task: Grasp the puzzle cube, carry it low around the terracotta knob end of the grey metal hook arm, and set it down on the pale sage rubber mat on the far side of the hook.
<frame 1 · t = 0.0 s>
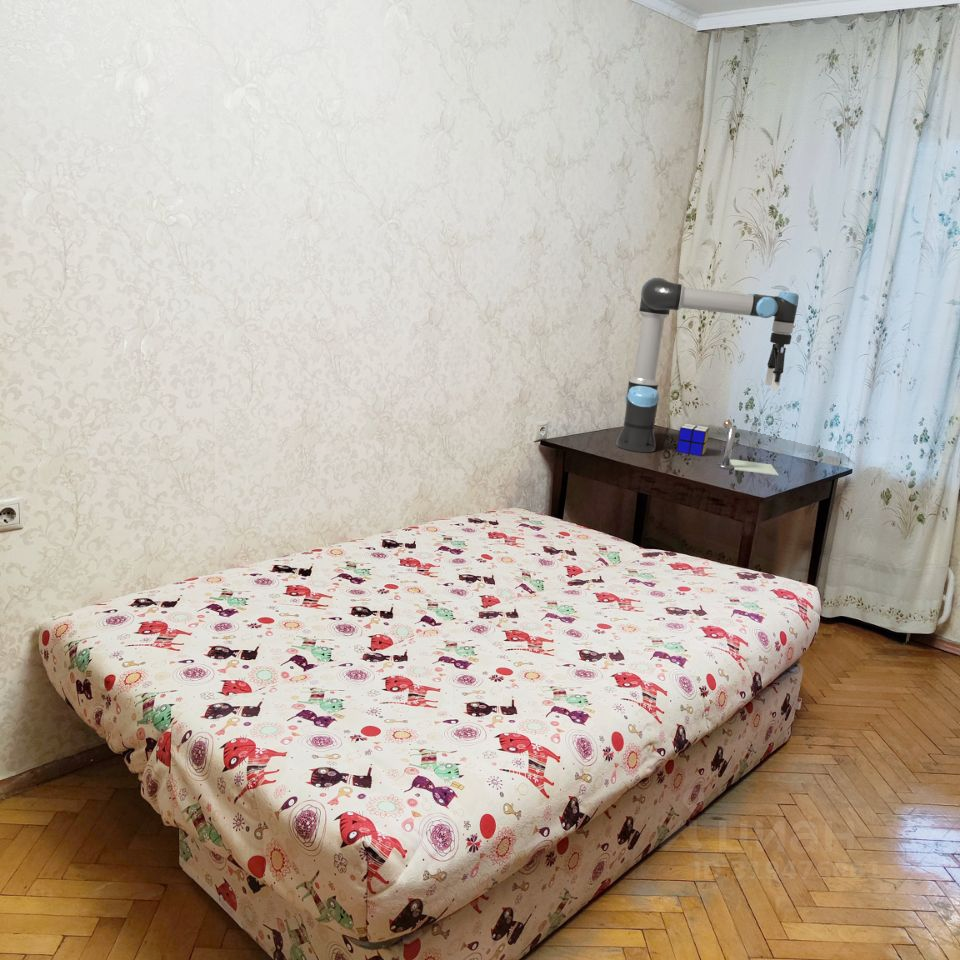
hand: (771, 387, 349), 28 cm above the table, fingers open, 13 cm apart
sage mat: (753, 467, 336), on the table
puzzle cube: (690, 452, 352), on the table
hook post: (725, 467, 332), on the table
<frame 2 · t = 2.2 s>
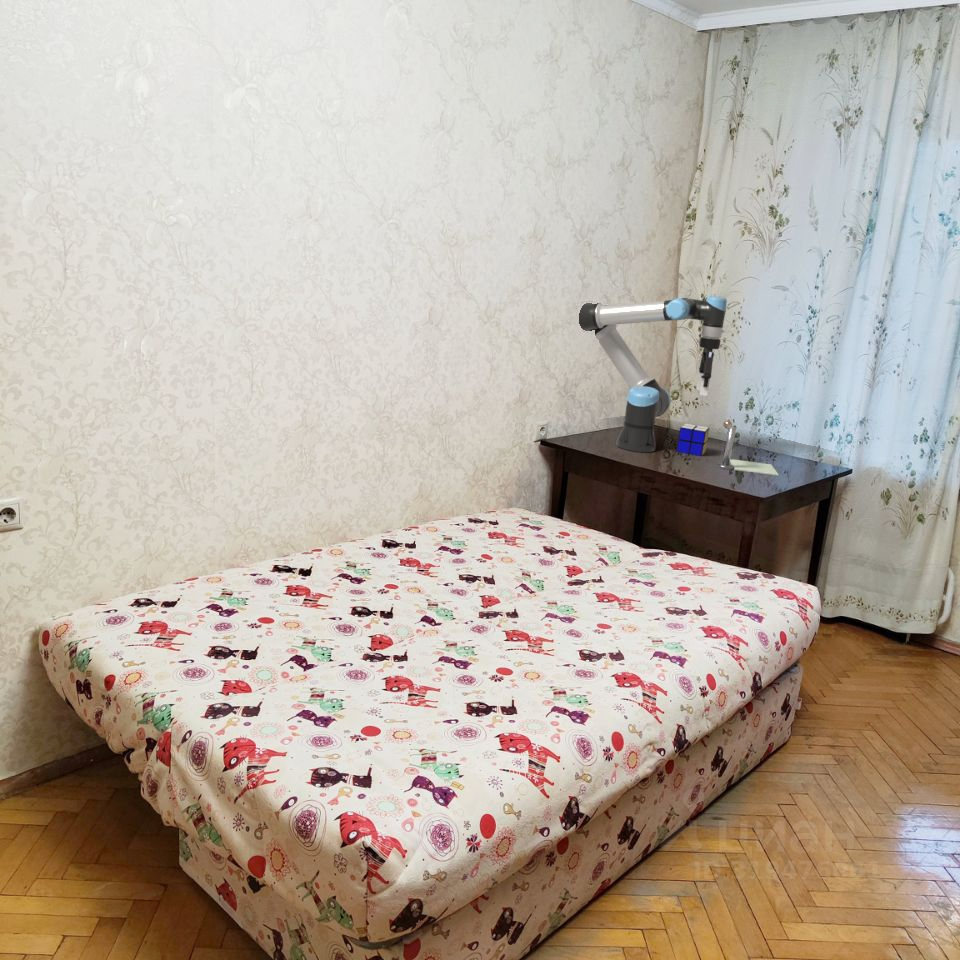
hand: (701, 392, 346), 24 cm above the table, fingers open, 13 cm apart
nothing on the table moved.
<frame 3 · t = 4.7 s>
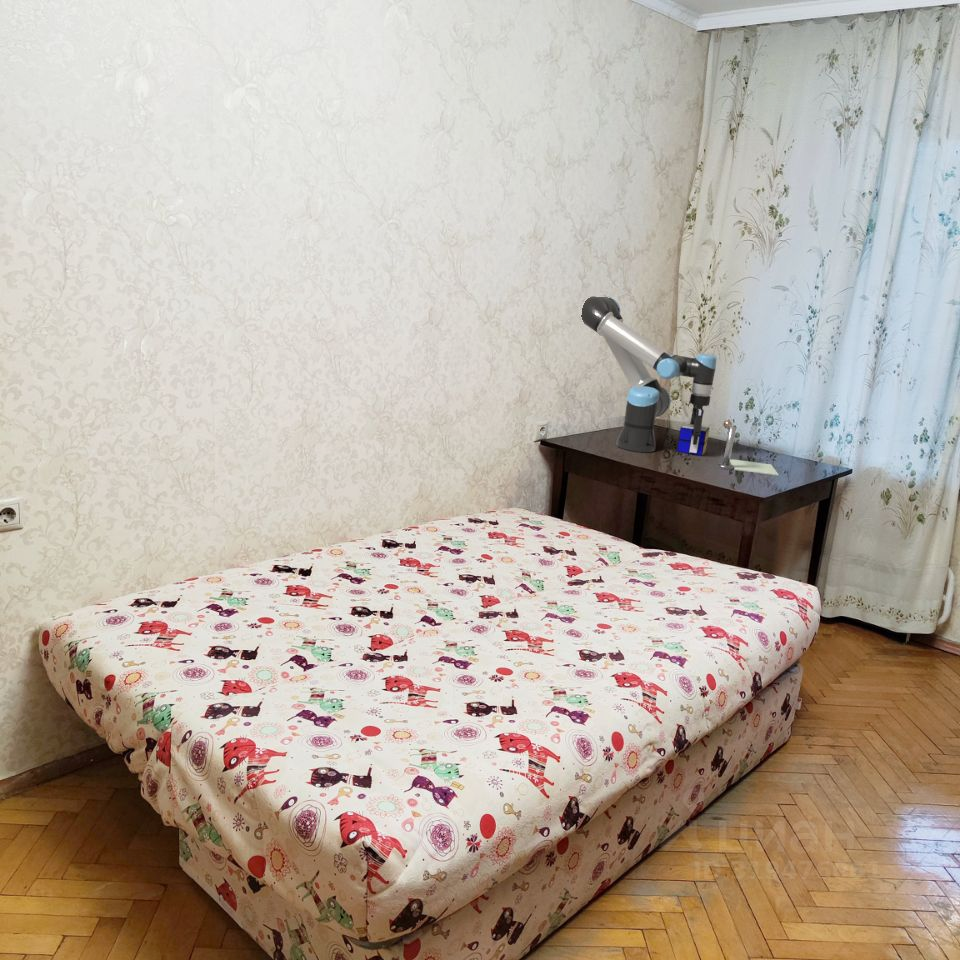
hand: (691, 449, 352), 1 cm above the table, fingers closed on puzzle cube, 11 cm apart
puzzle cube: (691, 452, 352), on the table, touching gripper
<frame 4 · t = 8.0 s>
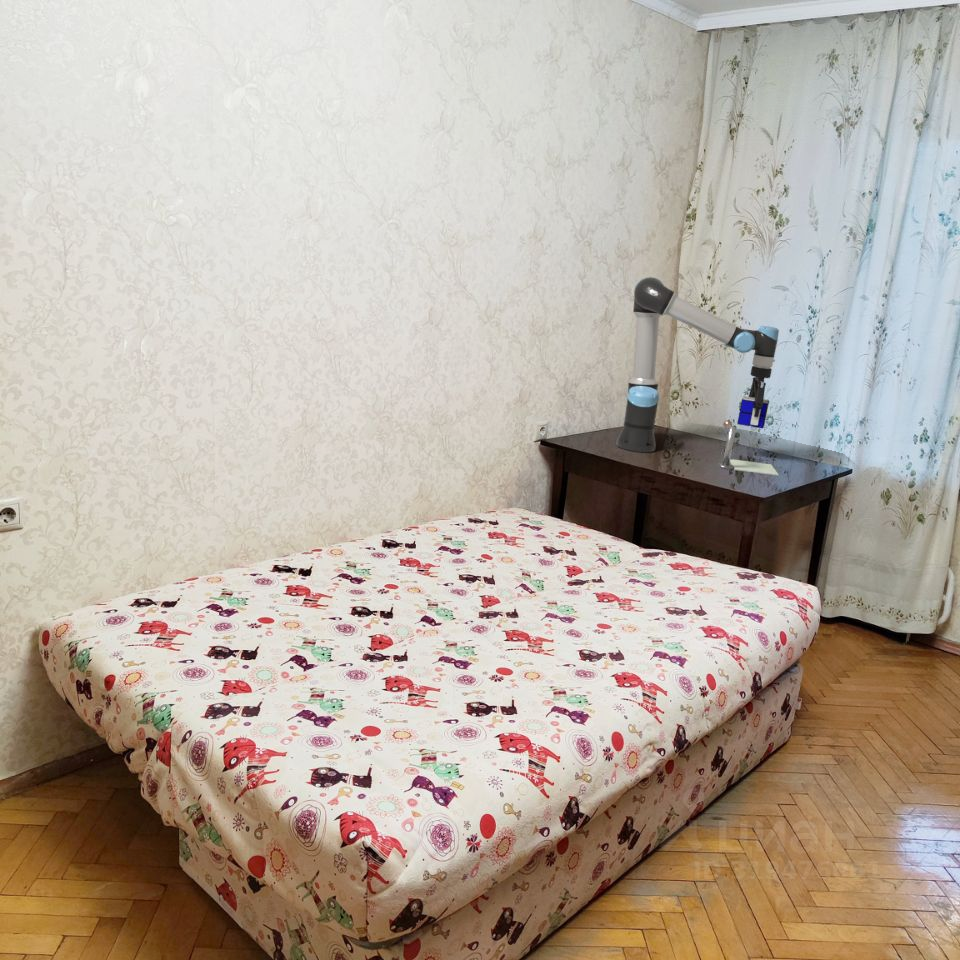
hand: (751, 421, 352), 14 cm above the table, fingers closed on puzzle cube, 11 cm apart
puzzle cube: (750, 424, 352), point 13 cm above the table, touching gripper
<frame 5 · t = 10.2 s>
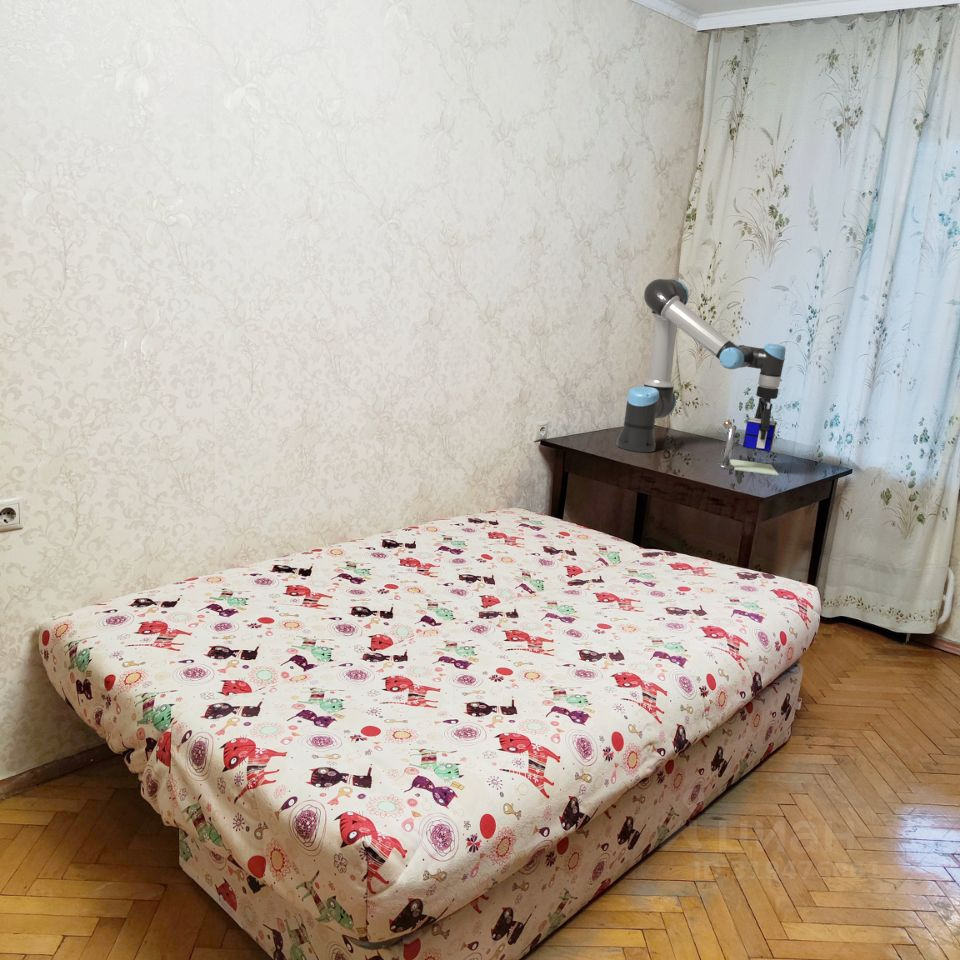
hand: (757, 444, 334), 9 cm above the table, fingers closed on puzzle cube, 11 cm apart
puzzle cube: (757, 447, 334), point 8 cm above the table, touching gripper
when the fingers open (3 cm above the table, at t = 11.8 s): puzzle cube drops 2 cm, resting on sage mat.
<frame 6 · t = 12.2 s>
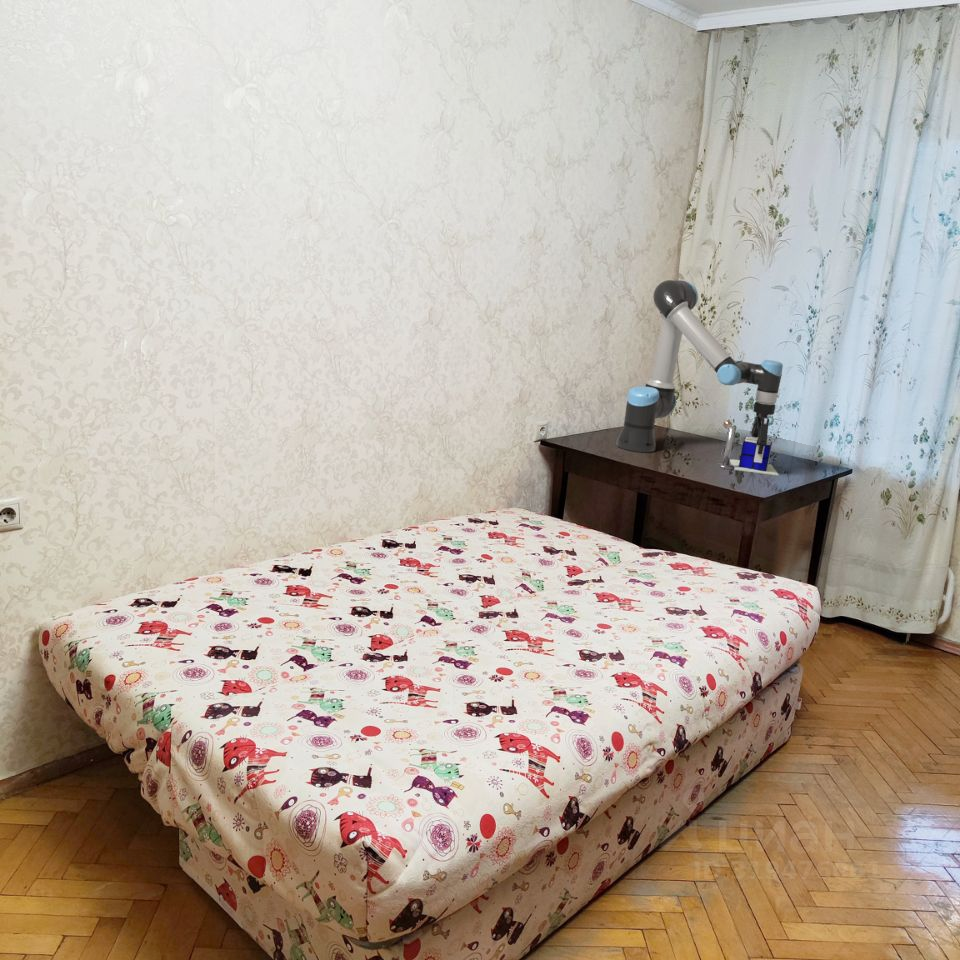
hand: (754, 458, 335), 4 cm above the table, fingers open, 13 cm apart
puzzle cube: (753, 467, 336), resting on sage mat
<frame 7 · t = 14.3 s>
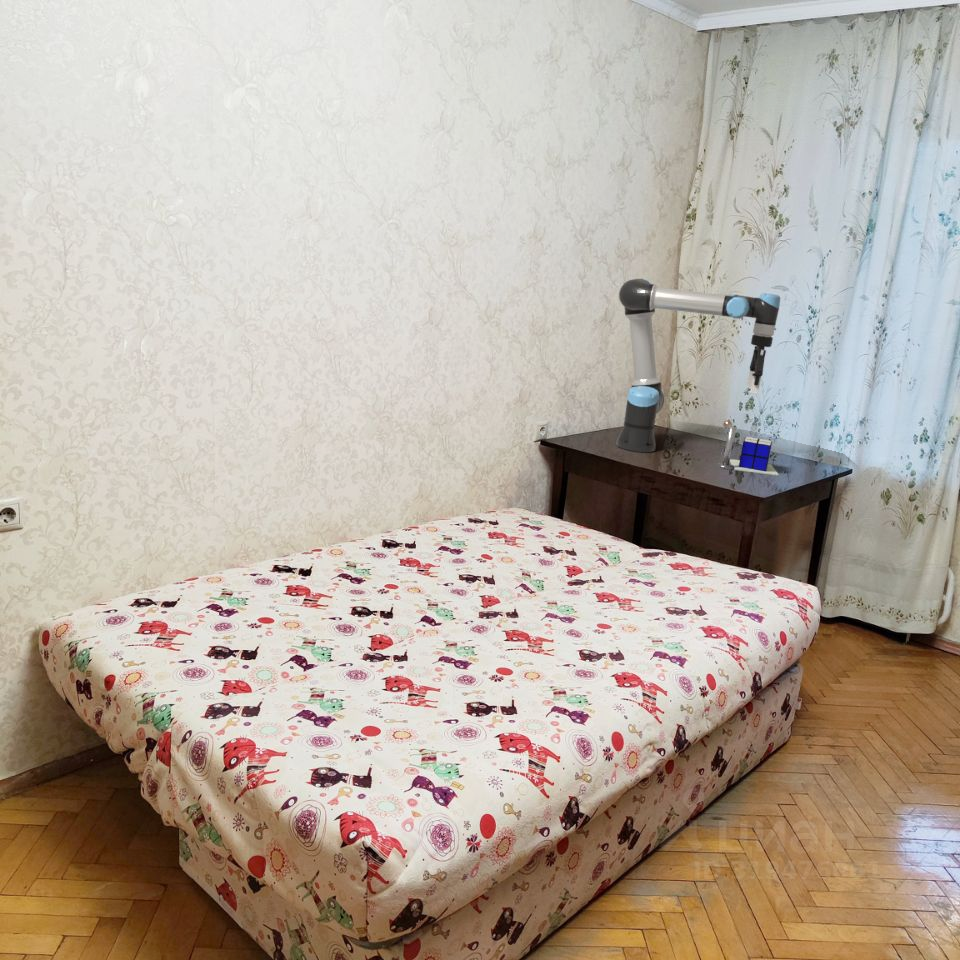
hand: (751, 390, 342), 27 cm above the table, fingers open, 13 cm apart
nothing on the table moved.
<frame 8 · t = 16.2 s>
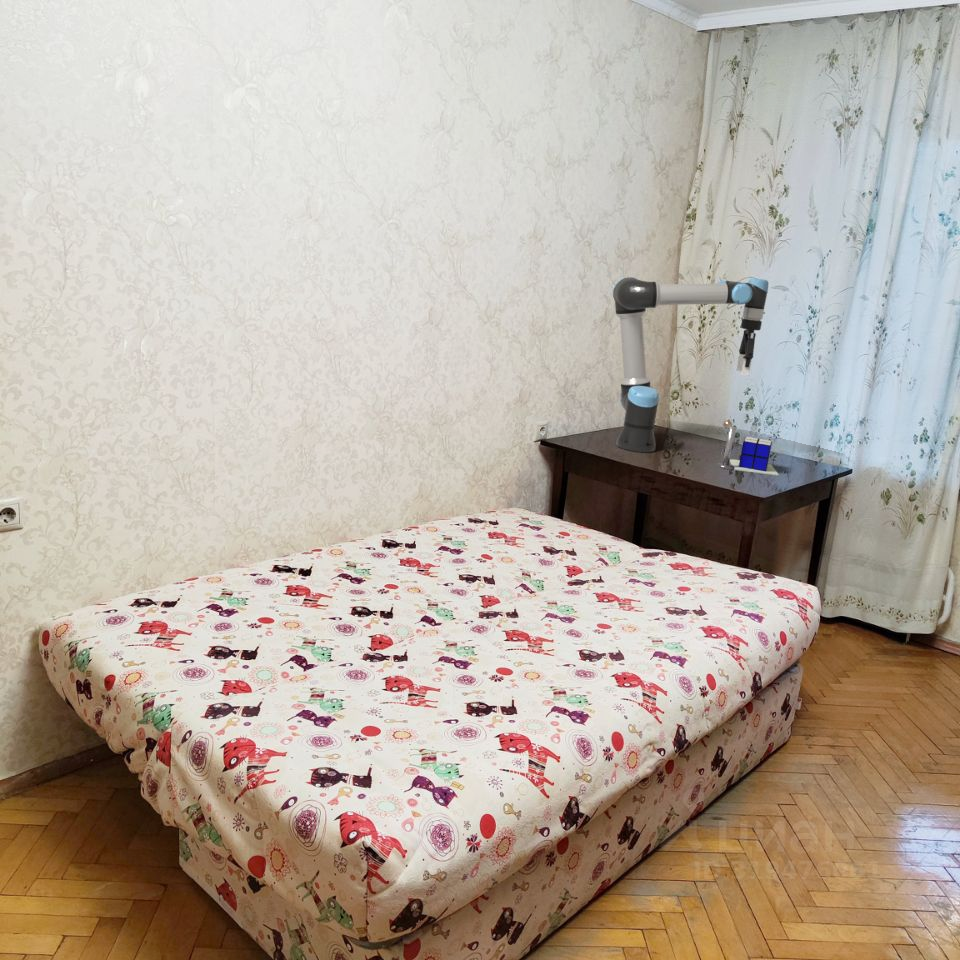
hand: (742, 373, 353), 32 cm above the table, fingers open, 13 cm apart
nothing on the table moved.
at the end: puzzle cube inside the target area on the sage mat (0.0 cm from its centre), point 0.2 cm above the sage mat's base; puzzle cube tilted 0°; the gripper is holding nothing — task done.
